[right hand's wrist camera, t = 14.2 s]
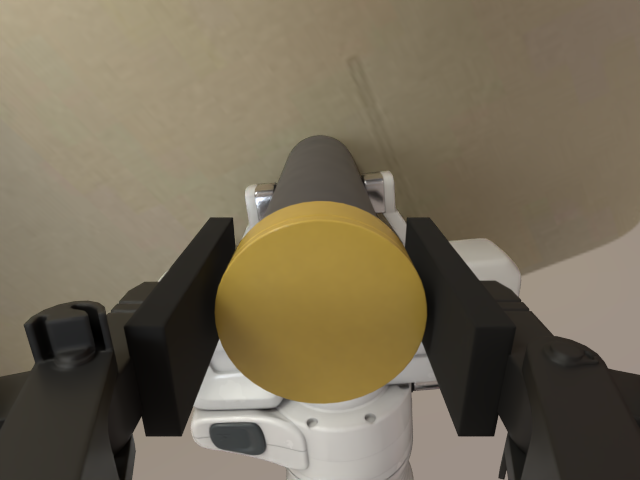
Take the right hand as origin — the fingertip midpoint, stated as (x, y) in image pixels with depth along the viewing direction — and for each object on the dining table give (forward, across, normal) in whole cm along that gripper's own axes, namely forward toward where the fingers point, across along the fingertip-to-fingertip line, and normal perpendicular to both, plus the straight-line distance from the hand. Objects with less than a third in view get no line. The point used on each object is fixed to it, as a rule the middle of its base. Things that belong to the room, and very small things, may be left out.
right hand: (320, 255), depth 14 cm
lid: (-4, 0, 0) cm, 4 cm away
